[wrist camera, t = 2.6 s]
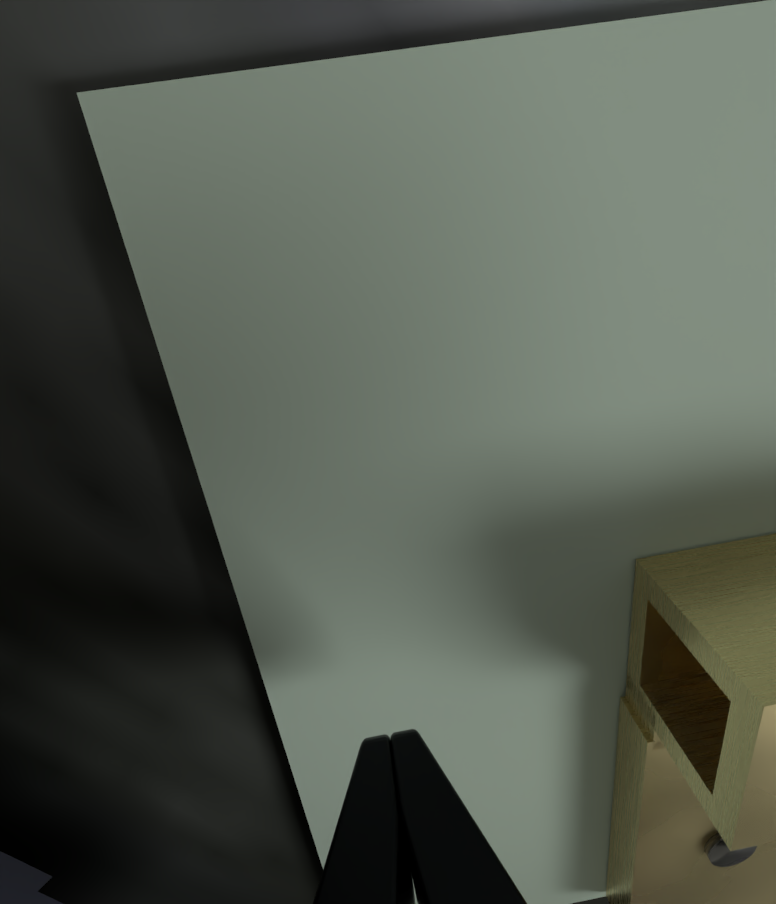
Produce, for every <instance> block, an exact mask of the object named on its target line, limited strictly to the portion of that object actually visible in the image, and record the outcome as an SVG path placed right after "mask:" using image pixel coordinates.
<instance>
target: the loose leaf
mask: <svg viewBox="0 0 776 904" xmlns="http://www.w3.org/2000/svg"><path fill="white" fill-rule="evenodd" d="M606 896H607V898H608V901H609V903H610V904H776V533H775V534H770V535H764V536H759V537H754V538H748V539H743V540H737V541H732V542H726V543H721V544H716V545H710V546H705V547H699V548H694V549H688V550H683V551H677V552H672V553H667V554H661V555H656V556H650V557H645V558H639V559H636V565H635V577H634V590H633V603H632V616H631V629H630V641H629V654H628V667H627V680H626V692H625V696H624V697H620V707H619V721H618V735H617V749H616V762H615V776H614V790H613V803H612V817H611V831H610V845H609V858H608V872H607V886H606Z"/></svg>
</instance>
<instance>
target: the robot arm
mask: <svg viewBox="0 0 776 904" xmlns="http://www.w3.org/2000/svg"><path fill="white" fill-rule="evenodd" d="M413 883H414V886H413ZM414 888H415V893H416V898H417V903H418V904H527V903H526V901H525V899H524V898H523V896H522V895H521V893H520V891H519V890H518V888H517V887H516V885H515V884H514V882H513V880H512V879H511V877H510V876H509V874H508V873H507V871H506V869H505V868H504V866H503V865H502V863H501V861H500V860H499V858H498V857H497V855H496V854H495V852H494V850H493V849H492V847H491V846H490V844H489V843H488V841H487V839H486V838H485V836H484V835H483V833H482V831H481V830H480V828H479V827H478V825H477V824H476V822H475V820H474V819H473V817H472V816H471V814H470V813H469V811H468V809H467V808H466V806H465V805H464V803H463V801H462V800H461V798H460V797H459V795H458V794H457V792H456V790H455V789H454V787H453V786H452V784H451V783H450V781H449V779H448V778H447V776H446V775H445V773H444V771H443V770H442V768H441V767H440V765H439V764H438V762H437V760H436V759H435V757H434V756H433V754H432V753H431V751H430V749H429V748H428V746H427V745H426V743H425V741H424V740H423V738H422V737H421V735H420V734H419V732H418V731H417V730H415V729H409V730H404V731H399V732H394V733H393V734H392V735H391V737H389V736H388V735H386V734H383V735H378V736H373V737H368V738H365V739H364V740H363V741H362V743H361V745H360V748H359V752H358V755H357V758H356V762H355V765H354V768H353V772H352V775H351V778H350V782H349V785H348V788H347V792H346V795H345V799H344V802H343V805H342V809H341V812H340V815H339V819H338V822H337V825H336V829H335V832H334V835H333V839H332V842H331V845H330V849H329V852H328V855H327V859H326V862H325V865H324V869H323V872H322V875H321V879H320V882H319V885H318V889H317V892H316V895H315V899H314V902H313V904H415V894H414Z"/></svg>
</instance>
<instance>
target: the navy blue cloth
mask: <svg viewBox="0 0 776 904" xmlns="http://www.w3.org/2000/svg"><path fill="white" fill-rule="evenodd" d="M51 878H52V876H50V875H48V874H46V873H44V872H42V871H40V870H38V869H36V868H34V867H32V866H30V865H28V864H26V863H24V862H22V861H20V860H18V859H16V858H13V857H11V856H9V855H7V854H5V853H3V852H1V851H0V904H63V903H61V902H59V901H57V900H55V899H53V898H50V897H48V896H46V895H44V894H42V893H40V892H38V891H39V890H40V889H41V888H42V887H43V886H44V885H45V884H46V883H47V882H48V881H49V880H50V879H51Z"/></svg>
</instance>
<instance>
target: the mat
mask: <svg viewBox="0 0 776 904" xmlns="http://www.w3.org/2000/svg"><path fill="white" fill-rule="evenodd" d="M77 96H78V99H79V102H80V105H81V108H82V112H83V115H84V118H85V121H86V124H87V127H88V130H89V134H90V137H91V140H92V143H93V146H94V149H95V153H96V156H97V159H98V162H99V165H100V168H101V171H102V175H103V178H104V181H105V184H106V187H107V190H108V193H109V197H110V200H111V203H112V206H113V209H114V212H115V216H116V219H117V222H118V225H119V228H120V231H121V234H122V238H123V241H124V244H125V247H126V250H127V253H128V256H129V260H130V263H131V266H132V269H133V272H134V275H135V279H136V282H137V285H138V288H139V291H140V294H141V297H142V301H143V304H144V307H145V310H146V313H147V316H148V320H149V323H150V326H151V329H152V332H153V335H154V338H155V342H156V345H157V348H158V351H159V354H160V357H161V360H162V364H163V367H164V370H165V373H166V376H167V379H168V383H169V386H170V389H171V392H172V395H173V398H174V401H175V405H176V408H177V411H178V414H179V417H180V420H181V424H182V427H183V430H184V433H185V436H186V439H187V442H188V446H189V449H190V452H191V455H192V458H193V461H194V464H195V468H196V471H197V474H198V477H199V480H200V483H201V487H202V490H203V493H204V496H205V499H206V502H207V505H208V509H209V512H210V515H211V518H212V521H213V524H214V527H215V531H216V534H217V537H218V540H219V543H220V546H221V550H222V553H223V556H224V559H225V562H226V565H227V568H228V572H229V575H230V578H231V581H232V584H233V587H234V591H235V594H236V597H237V600H238V603H239V606H240V609H241V613H242V616H243V619H244V622H245V625H246V628H247V631H248V635H249V638H250V641H251V644H252V647H253V650H254V654H255V657H256V660H257V663H258V666H259V669H260V672H261V676H262V679H263V682H264V685H265V688H266V691H267V695H268V698H269V701H270V704H271V707H272V710H273V713H274V717H275V720H276V723H277V726H278V729H279V732H280V735H281V739H282V742H283V745H284V748H285V751H286V754H287V758H288V761H289V764H290V767H291V770H292V773H293V776H294V780H295V783H296V786H297V789H298V792H299V795H300V798H301V802H302V805H303V808H304V811H305V814H306V817H307V821H308V824H309V827H310V830H311V833H312V836H313V839H314V843H315V846H316V849H317V852H318V855H319V858H320V862H321V865H322V868H323V869H324V865H325V862H326V859H327V855H328V852H329V849H330V845H331V842H332V839H333V835H334V832H335V829H336V825H337V822H338V819H339V815H340V812H341V809H342V805H343V802H344V799H345V795H346V792H347V788H348V785H349V782H350V778H351V775H352V772H353V768H354V765H355V762H356V758H357V755H358V752H359V748H360V745H361V743H362V741H363V740H364V739H365V738H368V737H373V736H378V735H383V734H386V735H388V736H389V737H391V735H392V734H393V733H394V732H399V731H404V730H409V729H415V730H417V731H418V732H419V734H420V735H421V737H422V738H423V740H424V741H425V743H426V745H427V746H428V748H429V749H430V751H431V753H432V754H433V756H434V757H435V759H436V760H437V762H438V764H439V765H440V767H441V768H442V770H443V771H444V773H445V775H446V776H447V778H448V779H449V781H450V783H451V784H452V786H453V787H454V789H455V790H456V792H457V794H458V795H459V797H460V798H461V800H462V801H463V803H464V805H465V806H466V808H467V809H468V811H469V813H470V814H471V816H472V817H473V819H474V820H475V822H476V824H477V825H478V827H479V828H480V830H481V831H482V833H483V835H484V836H485V838H486V839H487V841H488V843H489V844H490V846H491V847H492V849H493V850H494V852H495V854H496V855H497V857H498V858H499V860H500V861H501V863H502V865H503V866H504V868H505V869H506V871H507V873H508V874H509V876H510V877H511V879H512V880H513V882H514V884H515V885H516V887H517V888H518V890H519V891H520V893H521V895H522V896H523V898H524V899H525V901H526V903H527V904H571V903H576V902H581V901H585V900H590V899H595V898H599V897H604V896H606V886H607V872H608V858H609V845H610V831H611V817H612V803H613V790H614V776H615V762H616V749H617V735H618V721H619V707H620V697H624V696H625V692H626V680H627V667H628V654H629V641H630V629H631V616H632V603H633V590H634V577H635V565H636V559H639V558H645V557H650V556H656V555H661V554H667V553H672V552H677V551H683V550H688V549H694V548H699V547H705V546H710V545H716V544H721V543H726V542H732V541H737V540H743V539H748V538H754V537H759V536H764V535H770V534H775V533H776V0H767V1H759V2H752V3H745V4H737V5H730V6H722V7H715V8H707V9H700V10H692V11H685V12H677V13H670V14H662V15H655V16H647V17H640V18H632V19H625V20H617V21H610V22H602V23H595V24H587V25H580V26H572V27H565V28H557V29H550V30H542V31H535V32H527V33H520V34H512V35H505V36H497V37H490V38H482V39H475V40H467V41H460V42H452V43H445V44H437V45H430V46H422V47H415V48H408V49H400V50H393V51H385V52H378V53H370V54H363V55H355V56H348V57H340V58H333V59H325V60H318V61H310V62H303V63H295V64H288V65H280V66H273V67H265V68H258V69H250V70H243V71H235V72H228V73H220V74H213V75H205V76H198V77H190V78H183V79H175V80H168V81H160V82H153V83H145V84H138V85H130V86H123V87H115V88H108V89H100V90H93V91H85V92H78V93H77ZM413 886H414V883H413ZM414 894H415V904H418V903H417V898H416V893H415V888H414Z"/></svg>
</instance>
